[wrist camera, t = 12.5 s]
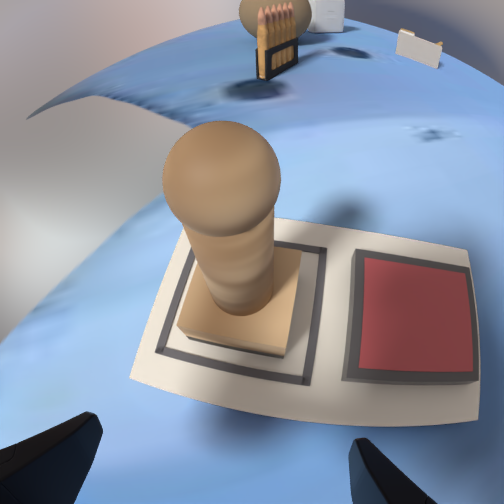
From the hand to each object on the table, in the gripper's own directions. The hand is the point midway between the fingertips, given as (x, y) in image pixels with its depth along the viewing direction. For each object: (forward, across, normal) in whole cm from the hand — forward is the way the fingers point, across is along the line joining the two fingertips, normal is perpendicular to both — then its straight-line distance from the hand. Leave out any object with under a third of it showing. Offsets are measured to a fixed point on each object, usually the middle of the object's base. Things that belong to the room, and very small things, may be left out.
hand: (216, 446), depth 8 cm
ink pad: (+9, -11, 0) cm, 14 cm away
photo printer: (+63, -16, -52) cm, 83 cm away
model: (+53, -36, -42) cm, 77 cm away
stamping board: (+10, -5, 0) cm, 12 cm away
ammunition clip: (+39, -3, -28) cm, 48 cm away
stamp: (+10, 0, -1) cm, 10 cm away
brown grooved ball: (+52, -2, -42) cm, 67 cm away
